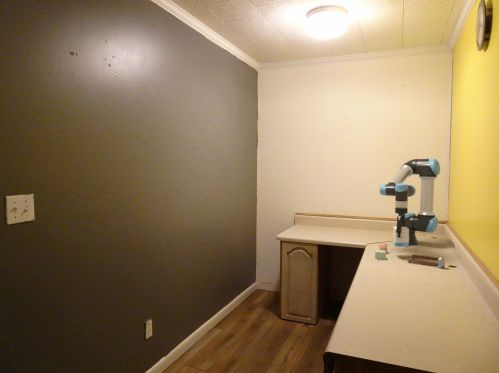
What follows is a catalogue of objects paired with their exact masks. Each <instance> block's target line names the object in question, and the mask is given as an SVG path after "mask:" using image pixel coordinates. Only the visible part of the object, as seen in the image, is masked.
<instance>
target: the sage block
mask: <svg viewBox="0 0 499 373" xmlns="http://www.w3.org/2000/svg"><path fill="white" fill-rule="evenodd" d="M374 258H375V260H376V259H377V261H386V259H387V254H386V252H385V250H380V249H374Z"/></svg>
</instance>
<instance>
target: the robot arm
mask: <svg viewBox="0 0 499 373" xmlns="http://www.w3.org/2000/svg"><path fill="white" fill-rule="evenodd" d="M440 173H441V166H440V162H439V160H437V159H435V158H414V159H411V160H408V161H406V162H405V163H403V164H402V165H401V166H400V167H399V170H398V171H397V172H396V173H395V175H394V176H393V177H392V178H391V179H390V181H388V182H387V184H381V185H380V187H379V194H380V195H381V196H387V197H394V198H395V201H394V204H395V206H394V207H395V208H394V213H395V214H398V215H397V216H396V227H397V229H396V233H397V243H402V233H401V230H402V227H407V228H408V229H409V246H417V245H418V239H417V236H416V232H421V233H422V232H423V233H428V234H429V233H431V234H432V233H435V231H436V230H437V228H438V226H439V219H438V217H436V214H435V212H434V194H435V193H434V192H435V180H436V179H437V178H438V177H437V176H438V175H440ZM413 175H418V178H420V199H419V200H420V201H419V202H420V204H419V205H420V206H419V212H418V213H417V214H416V213H415V212H413V213H412V212H408V209H409V208H408V207H409V205H408V204H409V203H408V202H409V199H408V198H409V197H412V196H415V194H416V191H417V190H416V187H415V186H413V185H412V184H407V183H404V182H405V181H406V180H407V179H408V178H409V177H411V176H413Z"/></svg>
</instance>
